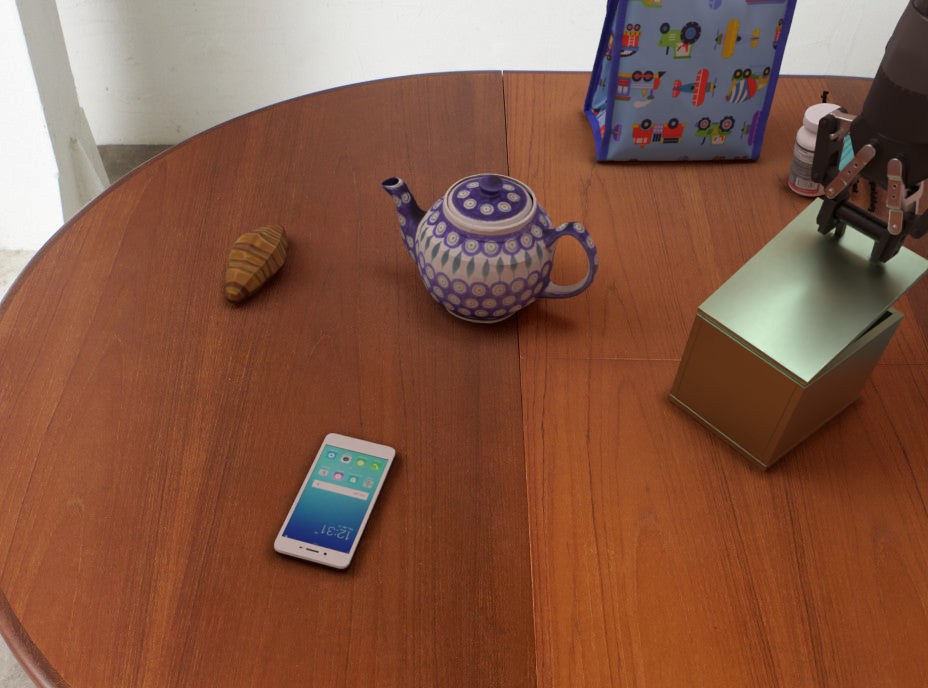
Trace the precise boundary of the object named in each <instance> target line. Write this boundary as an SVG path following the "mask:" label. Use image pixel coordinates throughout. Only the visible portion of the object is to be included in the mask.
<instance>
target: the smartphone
mask: <svg viewBox="0 0 928 688" xmlns="http://www.w3.org/2000/svg"><path fill="white" fill-rule="evenodd" d="M395 461H396V450H395V449H394V448H393V447H392V446H388V445H384V444H379V443H376V442H371V441H367V440H363V439H359V438H356V437H352V436H346V435H344V434H343V435H342V434H339V433H334V432H332V433H328V434H327V435H326V436H325V438H324V440H323V442H322V444H321V446H320V448H319V450H318V452H317V454H316V456H315V458H314V460H313V463H311V467H310V468H309V470H308V473H307V474H306V476H305V478H304V480H303V483H302V485H301V487H300V489H299V491H298V493H297V495H296V497H295V498H294V502H293V503H292V505H291V507H290V509H289V512H288V514H287V516H286V518H285V520H284V522H283V524H282V526H281V528H280V530H279V531H278V535H277V536H276V538H275V541H274V543H273V550H274V552H275V553H276V554H277V555H279V556H283V557H286V558H290V559H294V560H297V561H302V562H305V563H308V564H312V565H316V566H320V567H323V568H327V569H331V570H333V571H338V572H346V571H348V570H349V568H350V567H351V565H352V563H353V560H354V557H355V556H356V553H357V550H358V548H359V546H360V544H361V542H362V540H363V536H364V534H365V532H366V530H367V528H368V525H369V522H370V520H371V517H372V515H373V513H374V510H375V508H376V505H377V503H378V500H379V499H380V496H381V493H382V491H383V488H384V486H385V485H386V482H387V479H388V476H389V474H390V472H391V469H392V467H393V465H394V462H395Z"/></svg>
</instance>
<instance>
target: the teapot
mask: <svg viewBox="0 0 928 688" xmlns="http://www.w3.org/2000/svg"><path fill="white" fill-rule="evenodd" d="M380 186H381V187H382V189H383V190H384V191H386V192H387V194H388V195H389V196H390V197H391V199H392V200H393V202H394V204H395V207H396V212H397V218H398V222H399V229H400V234H401V239H402V242H403V244H404V246H405V249H406V250H407V253H408V255H409V256H410V258H411V259H412V260H413V261H414V263H415V264H416V265H417V266H418V271H419V275H420V278H421V280H422V283H423V285H424V287H425V289H426V290H427V292H428V294H429V295H430V296H431V297H432V299H434V300H435V301H436V302H437V303H438V304H439V305H441V306H442V307H444V308H445V309H446V310H447V312H449V314H451V315H453V316H454V317H456V318H458V319H461V320H463V321H467V322H471V323H478V324H494V323H498V322H501V321H504V320H506V319H508V318H510V317H511V316H513V315H514V314H516V312H518V311H520V310H522V309H524V308H526V307H527V306H528V305H530V304H532V303H533V302H536V300H538V299H547V300H548V299H550V300H560V299H561V300H563V299H569V298H574V297H577V296H578V295H579V296H580V294H582V293H584V292H585V291H587V289H589V288H590V287H591V285H592V284H593V282H594V281H595V279H596V276H597V273H598V269H599V262H600V259H599V253H598V250H597V246H596V244H595V241H594V239H593V238H592V236H591V234H590V233H589V231H588V230H587V229H586V228H585V226H583V225H582V224H581V223H578V222H577V221H567V222H565V223H562V224H560V225H558V226H556V227H554V225H553V221H552V218H551V216H550V215H549V213H548V211H547V210H546V209H545V208H544V207H543V206H542V205H541V204H540V202H538V201H537V197H536V195H535V193H534V191H533V190H532V189H531V187H529V186H528V185H527V184H526V183H524V182H523V181H520V180H519V179H516V178H513V177H511V176H507V175H503V174H498V173H478V174H473V175H469V176H466V177H463V178H461V179H458V180H457V181H456V182H454V183H453V184H452V185H451V186H450V187H449V188H448V189H447V190H446V192H445V194H444V195H443V196H442V197H440V198H439V199H438V200H437V201H436V202H435V203H434V204H433V205H432V206H431V207H430V208H429V209H428V210H427V211H426V210H423V209H422V208H421V207H420V206H419V204H418V202H417V201H416V199H415V197H414V194H413V192H412V191H411V189H410V188H409V186H408V184H407V183H406V182H405V181H404V180H403V179H402V178H400V177H396V176H395V177H394V176H393V177H389V178H386V179H384V180H383V181H382V182H381V183H380ZM564 236H571V237H573V238H575V240H577V242H579V244H580V246H581V248H582V249H583V251H584V253H585V256H586V259H587V264H588V265H587V267H588V268H587V272H586V275H585V276H584V277H583V278H582V279H581V280H580V281H578V282H577V283H574V284H571V285H570V284H569V285H558V284H555V283H553V281H552V280H551V273H552V271H553V266H554V261H555V254H556V249H557V244H558V242H559V240H560V239H561V238H563V237H564Z"/></svg>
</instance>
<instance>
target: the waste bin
mask: <svg viewBox="0 0 928 688" xmlns="http://www.w3.org/2000/svg"><path fill="white" fill-rule="evenodd" d="M904 317H905V314H904V313H902V312H901V311H900V310H898V309H896V308H894V307H893V306H891V307H890V308H889V309H888V310H887V311H886V312H885V313H884V314H883V315H882V316H881V317H880V318H879V319H878V320H877V321H875V322H874V323H873V324H872V325H871V326H870V327H869V328H868V329H867V330H866V331H865V332H864V333H863V334H862V335H861V336H860V337H859V338H857V339H856V340H855V341H854V342H853V343H852V344H851V345H850V346H849V347H848V348H847V349H846V350H845V351H844V352H843V353H842V354H841V355H840V356H838V357H837V358H836V359H835V360H834V361H833V362H832V363H831V364H830V365H829V366H828V367H827V368H826V369H825V370H824V371H823V372H822V373H821V374H819V375H818V376H817V377H816V378H815V379H814V380H813V381H812V382H811V383H810V384H809V385H808V386H807V387H806V386H804V385H803V384H801V383H800V382H798V381H797V380H796V379H794V378H793V377H791V376H790V375H788V374H787V373H785V372H784V371H783V370H781V369H780V368H778V367H777V366H775V365H774V364H772V363H771V362H769V361H768V360H767V359H765V358H764V357H762V356H761V355H759V354H758V353H756V352H755V351H754V350H752V349H751V348H749V347H748V346H746V345H745V344H743V343H742V342H740V341H739V340H738V339H736V338H735V337H733V336H732V335H730V334H729V333H727V332H726V331H724V330H723V329H722V328H720V327H719V326H717V325H716V324H714V323H713V322H711V321H710V320H709V319H707V318H706V317H704V316H703V315H701V314H700V313H698V312H697V313H696V314H695V318H694V320H693V323H692V325H691V330H690V332H689V335H688V337H687V341H686V343H685V347H684V350H683V353H682V356H681V358H680V361H679V365H678V368H677V370H676V374H675V377H674V380H673V383H672V386H671V389H670V392H669V394H668V398H667V399H668V401H670V402H671V403H672V404H674V406H677V407H678V408H679V409H681V410H682V411H683V412H684V413H686V415H688V416H689V417H691V419H693V420H695V421H697V423H699V424H700V425H701V426H703V427H704V428H705V429H707V430H708V431H709V432H711V433H712V434H714V435H715V436H716V437H717V438H719V439H720V440H721V441H722V442H723V443H724V444H727V446H729V447H730V448H732V449H733V450H734V451H736V452H737V453H738V454H740V455H741V456H742V457H744V458H745V459H746V460H747V461H749V462H750V463H752V465H754V466H756V467H757V468H758V469H760V470H761V471H762V472H765V471H766V470H768V469H769V468H770V467H772V466H773V465H774V464H776V463H777V462H778V461H780V460H781V459H782V458H784V457H785V456H786V455H788V453H790V452H791V451H792V450H794V449H795V448H797V446H799V445H801V443H803V442H804V441H805V440H807V439H808V438H809V437H810V436H812V435H813V434H814V433H817V431H819V429H821V428H822V427H824V426H825V425H827V424H828V423H829V422H830V421H831V420H832V419H834V418H835V417H836V416H838V415H839V414H840V413H842V412H843V411H845V410H846V409H847V408H848V407H850V406H851V405H852V404H853V403H855V402H856V401H857V400H858V398H859V396H860V395H861V393H862V392H863V390H864V388H865V386H866V384H867V382H868V381H869V379H870V377H871V375H872V373H873V372H874V370H875V368H876V367H877V364H878V363H879V361H880V360H881V358H882V356H883V354H884V352H885V351H886V349H887V347H888V345H889V343H890V341H892V338H893V336H894V335H895V333H896V331H897V329H898V328H899V326H900V324H901V322H902V321H903V319H904Z"/></svg>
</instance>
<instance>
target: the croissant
mask: <svg viewBox="0 0 928 688" xmlns="http://www.w3.org/2000/svg"><path fill="white" fill-rule="evenodd" d="M288 248H289V242H288V236H287V232H286V229H285V226H283V225H281V224H267V225H263V226H261V227H260V226H259V227H258V228H255V229H253V230H252V231H250V232H245V233H242V234H241V236H239V237H238V238H237V239H236V241H235V242H234V244H233V245H232V246H231V248H230V249H229V253H228V257H227V261H226V265H227V268H226V269H225V271H224V275H223V277H224V292H225V298H226V300H227V302H229V303H230V304H233V305H239V304H240V303H243V302H244V301H246V300H248V299H249V298H251V297H252V296H253V295H255V294H256V293H258V292H259V291H260V290H261V288H262V287H263V286H264V285H265V284H266V283H267V282H269V281H270V280H271V279H272V278H273V277H274V275H276V274H277V273H278V272H279V270H280V269H281V268H282V266H283V265H284V264H285V260H286V258H287V256H288V254H287V249H288Z"/></svg>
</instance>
